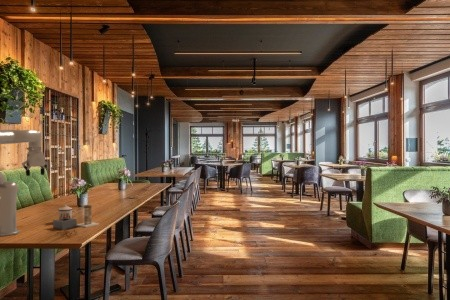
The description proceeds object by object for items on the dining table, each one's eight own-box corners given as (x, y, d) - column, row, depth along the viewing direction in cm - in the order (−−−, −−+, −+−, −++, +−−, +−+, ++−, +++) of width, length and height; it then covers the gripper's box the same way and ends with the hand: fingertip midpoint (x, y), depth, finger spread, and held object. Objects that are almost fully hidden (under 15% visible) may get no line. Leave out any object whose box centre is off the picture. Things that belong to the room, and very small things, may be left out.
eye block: (62, 229, 224) (62, 222, 224) (53, 228, 229) (53, 220, 229) (76, 226, 232) (76, 219, 232) (67, 225, 238) (67, 217, 237)
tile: (86, 227, 230) (86, 226, 230) (76, 225, 235) (76, 224, 235) (99, 224, 239) (99, 223, 239) (89, 222, 244) (89, 221, 244)
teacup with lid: (57, 223, 242) (57, 206, 242) (58, 220, 251) (58, 204, 251) (76, 222, 247) (76, 205, 247) (77, 219, 255) (76, 203, 255)
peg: (87, 225, 234) (87, 206, 234) (82, 224, 236) (82, 205, 236) (93, 223, 238) (93, 205, 238) (88, 222, 240) (88, 204, 240)
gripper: (25, 149, 228) (25, 176, 228) (50, 149, 242) (50, 174, 243) (18, 149, 232) (19, 175, 232) (44, 149, 246) (44, 174, 247)
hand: (35, 175), depth 237 cm, fingers open, 9 cm apart
